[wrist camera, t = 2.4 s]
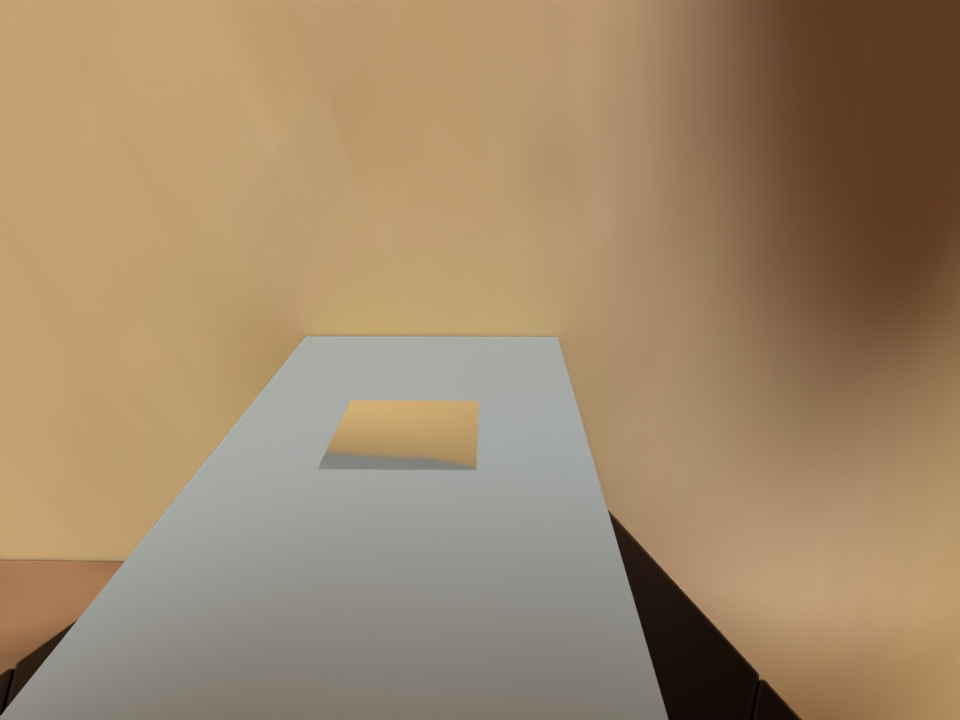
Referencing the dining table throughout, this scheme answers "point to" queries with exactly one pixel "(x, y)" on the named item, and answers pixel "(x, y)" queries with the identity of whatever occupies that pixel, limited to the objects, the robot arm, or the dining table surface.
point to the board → (44, 601)
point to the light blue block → (374, 557)
